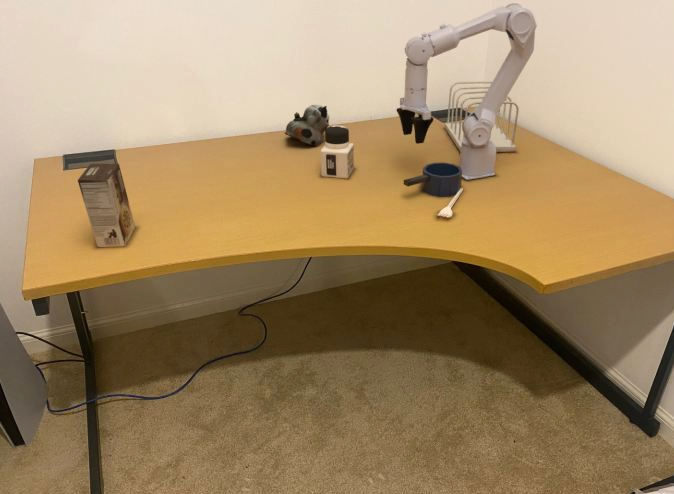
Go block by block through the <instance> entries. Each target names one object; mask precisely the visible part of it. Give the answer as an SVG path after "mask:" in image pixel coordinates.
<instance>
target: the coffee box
mask: <svg viewBox="0 0 674 494" xmlns="http://www.w3.org/2000/svg"><path fill="white" fill-rule="evenodd" d="M123 177H124V176H123V174H122V171H121V167H120V163H90V164H89V165H88V166H87V167H86V169H85V170H84V171H83V172H82V174H81V175H80V176H79V178H78V179H77V183H78V187H79V190H80V193H81V197H82V199H83V203H84V206H85V210H86V213H87V216H88V220H89V224H90V227H91V231H92V233H93V237H94V240H95V244H96V247H97V248H115V247H117V248H118V247H126V245H127V244H128V242H129V240H130V239H131V236H132V234H133V233H134V231H135V229H136V224H135V221H134V217H133V214H132V209H131V206H130V202H129V197H128V193H127V189H126V185H125V181H124V178H123Z"/></svg>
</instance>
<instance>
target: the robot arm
mask: <svg viewBox="0 0 674 494" xmlns="http://www.w3.org/2000/svg"><path fill="white" fill-rule="evenodd" d="M537 26H538V25H537V22H536V19H535V15H534V13H533V12H532V11H531V10H530V9H528V8H526V7H523V6H522V5H521V4H519V3H517V2H511V3H508V4H507V5H505V6H499V7H496V8H495V9H492V10H490V11H487V12H486V13H483V14H481V15H480V16H477V17H475V18H473V19H471V20H468V21H466V22H465V23H462V24H460V25H458V26H454V25H452V24H447V25H446V24H445V23H442V24H440V25H439V28H437V29H434V30H432V31H429V32H427V33H426V32H425V31H424V32H422V33H421V36H413V37H411V38H409V40H408V41H407V42H406V44H405V47H404V53H405V55H406V57H407V58H406V61H405V67H406V68H405V71H404V72H405V73H404V74H405V75H404V97H400V98H399V107H397V108H396V112H397V114H398V117H399V120H400V125H401V131H402V133H403V134H402V135H404V136H407V135H408V136H409V135H412V132H413V128H414V140H415V144H417V145H418V144H419V145H420V144H424V143H425V139H426V136H427V133H428V131H429V128H430V127H431V125H432V123H433V122H434V117H432V111H431V110H430V109H429V107H428V105H427V92H428V91H427V90H428V74H429V73H428V72H429V71H428V70H429V69H428V62H429V61H430V58H434V57H436V56H439V55H441V54H444V53H447V52H449V51H452V50H454V49H456V48H457V47H458V46H459V43H460V41H462V40H466V39H468V38H471V37H473V36H476V35H479V34H482V33H485V32H488V31H491V30H493V31H494V30H495V31H498V32H503V33H506V34H507V36H508V37H507V38H508V41H509V44H510V48H511V49H510V51H509V52H508V54H507V56H506V58H505V59H504V61H503V62H502V64H501V66H500V68H499V70H498V71H497V73H496V75H495V77H494V79H493V80H492V81H491V82H492V84H491V83H490V85H489V86H490V87H489V88H487V90H486V91H487V93H484V95H483V96H484V98H482V100H481V101H480V102H481V103H480V104H477V106H476V107H474V108H473V110H472V112H470V114H469V115H467V117H466V118H465V117H464V119H463V120H462V122H461V123H462V130H463V132H464V133H465V136H464V138H463V139H462V144H461V152H460V154H459V155H460V156H459V165H458V166H459V167H460V168H461V169H462V178H463V179H464V180H466V181H471V180H476V179H482V178H487V177H493V176H496V173H495V168H496V167H495V166H496V158H497V152H496V147H495V145H494V143H493V142H492V141H489V140H490V138H491V131H492V128H493V127H494V125H495V124H496V119H497V115H498V111H499V109H500V110H501V108H502V106H503V105H504V104H503V102H504V101H505V99H506V97H507V96H508V95H509V94H510V92H511V90H512V88H513V87H514V85H515V84H516V83H517V80H518V79H519V77H520V75H521V73H522V72H523V71H524V69H525V67H526V65H527V63H528V61H529V60H530V58H531V56H532V55H533V53H534V50H535V38H536V34H535V33H536V29H537ZM416 114H417V116H416Z"/></svg>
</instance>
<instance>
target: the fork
mask: <svg viewBox="0 0 674 494" xmlns="http://www.w3.org/2000/svg"><path fill="white" fill-rule="evenodd" d="M463 191H464V188H463V187H461V188H460V190H459V191H458V192H457V194H456V195H453V198H452V199H451V200H450V202H449V203H448V204H447V206H445V207H444V208H442V209H441V210H440V211H439V212H438V213H437V214H435V215H436V216H438V217H443V218H449V219H450V218H452V217H453V210H452V208H453V206H454V204H455V203H456V201H457V200H458V198H459V197H460V196H461V194H462V193H463Z"/></svg>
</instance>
